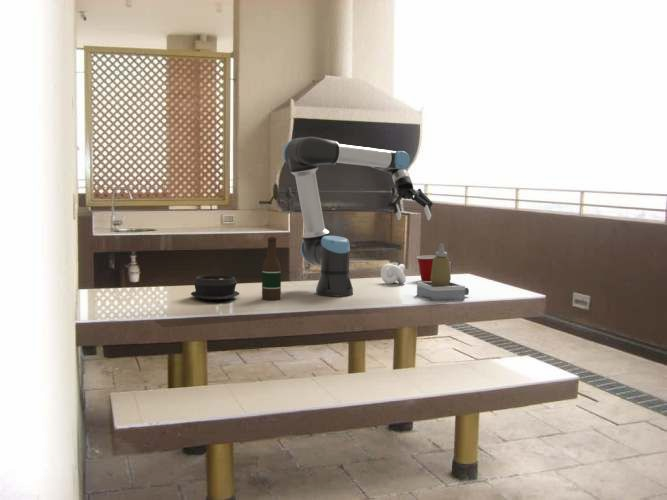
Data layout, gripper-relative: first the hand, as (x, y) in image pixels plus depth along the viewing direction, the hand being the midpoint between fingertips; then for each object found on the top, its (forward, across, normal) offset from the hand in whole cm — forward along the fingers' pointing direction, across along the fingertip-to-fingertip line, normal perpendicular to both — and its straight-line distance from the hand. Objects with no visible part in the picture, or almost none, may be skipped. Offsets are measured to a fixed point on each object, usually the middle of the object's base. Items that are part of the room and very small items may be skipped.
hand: (415, 218), depth 285 cm
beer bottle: (+29, +63, -16) cm, 71 cm away
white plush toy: (+4, -1, -40) cm, 41 cm away
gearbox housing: (+34, -8, -11) cm, 36 cm away
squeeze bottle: (+31, -5, -8) cm, 32 cm away
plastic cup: (0, -21, -45) cm, 49 cm away
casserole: (+26, +84, -20) cm, 90 cm away
